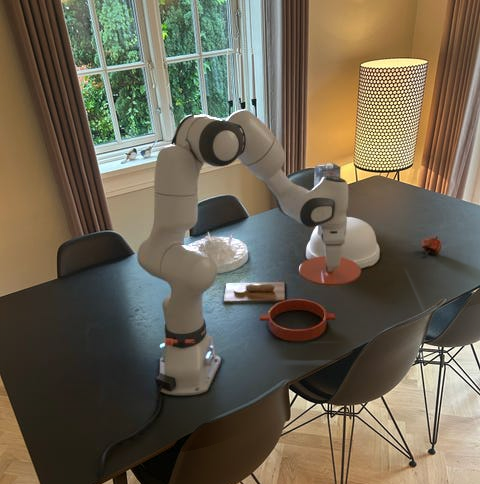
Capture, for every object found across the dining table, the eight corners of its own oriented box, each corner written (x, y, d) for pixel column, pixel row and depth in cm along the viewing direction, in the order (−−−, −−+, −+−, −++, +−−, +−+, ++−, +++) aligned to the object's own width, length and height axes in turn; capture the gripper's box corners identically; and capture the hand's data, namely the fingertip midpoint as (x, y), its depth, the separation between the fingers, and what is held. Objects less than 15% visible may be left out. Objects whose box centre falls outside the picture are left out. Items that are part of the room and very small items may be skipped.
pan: (337, 342, 156) (337, 330, 154) (259, 342, 158) (258, 331, 156) (331, 309, 172) (332, 298, 170) (261, 310, 174) (260, 299, 172)
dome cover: (377, 275, 190) (380, 241, 182) (299, 269, 198) (299, 236, 190) (381, 240, 215) (384, 209, 208) (312, 236, 223) (312, 206, 215)
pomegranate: (434, 264, 199) (449, 244, 199) (427, 253, 195) (443, 233, 195) (420, 259, 205) (435, 240, 205) (413, 249, 201) (428, 229, 201)
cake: (188, 279, 196) (186, 257, 191) (177, 250, 219) (174, 230, 214) (256, 266, 202) (255, 245, 196) (238, 240, 225) (237, 219, 219)
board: (284, 302, 178) (284, 299, 177) (223, 303, 180) (223, 300, 179) (284, 284, 188) (284, 281, 188) (226, 285, 190) (226, 283, 190)
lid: (364, 287, 155) (365, 274, 152) (300, 287, 157) (300, 275, 154) (356, 258, 172) (357, 246, 169) (298, 259, 173) (298, 247, 171)
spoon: (274, 287, 185) (274, 281, 183) (274, 294, 181) (274, 287, 179) (234, 287, 186) (233, 281, 185) (233, 294, 182) (232, 288, 181)
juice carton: (311, 218, 240) (312, 162, 225) (331, 214, 242) (334, 158, 227) (319, 225, 233) (321, 167, 218) (340, 221, 235) (343, 163, 220)
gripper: (319, 216, 165) (318, 254, 172) (323, 241, 147) (322, 282, 155) (338, 215, 164) (336, 254, 172) (345, 241, 147) (342, 282, 154)
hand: (329, 267), depth 163 cm, fingers closed on lid, 2 cm apart
